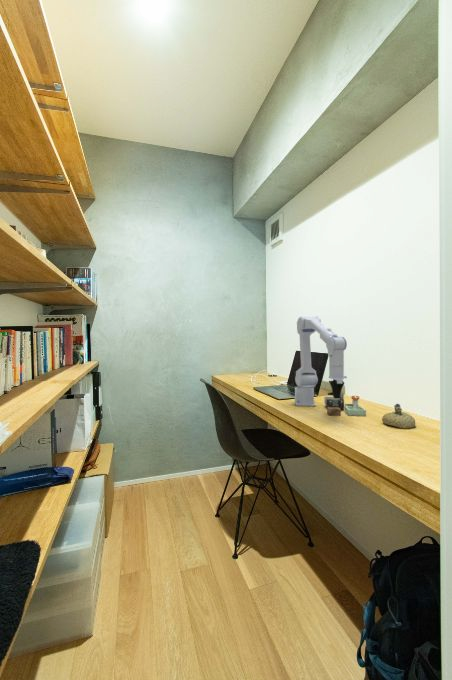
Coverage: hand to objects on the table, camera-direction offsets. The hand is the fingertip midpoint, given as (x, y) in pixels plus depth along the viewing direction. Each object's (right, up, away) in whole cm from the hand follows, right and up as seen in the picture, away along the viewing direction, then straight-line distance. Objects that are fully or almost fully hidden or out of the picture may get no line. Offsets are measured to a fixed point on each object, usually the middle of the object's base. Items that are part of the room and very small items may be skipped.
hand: (336, 398), depth 129 cm
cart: (+5, -8, +17) cm, 20 cm away
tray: (+11, -8, +7) cm, 15 cm away
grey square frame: (+13, -8, +16) cm, 22 cm away
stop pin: (+11, -8, +7) cm, 15 cm away
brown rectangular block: (+1, -9, +6) cm, 11 cm away
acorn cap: (+21, -9, -9) cm, 25 cm away
